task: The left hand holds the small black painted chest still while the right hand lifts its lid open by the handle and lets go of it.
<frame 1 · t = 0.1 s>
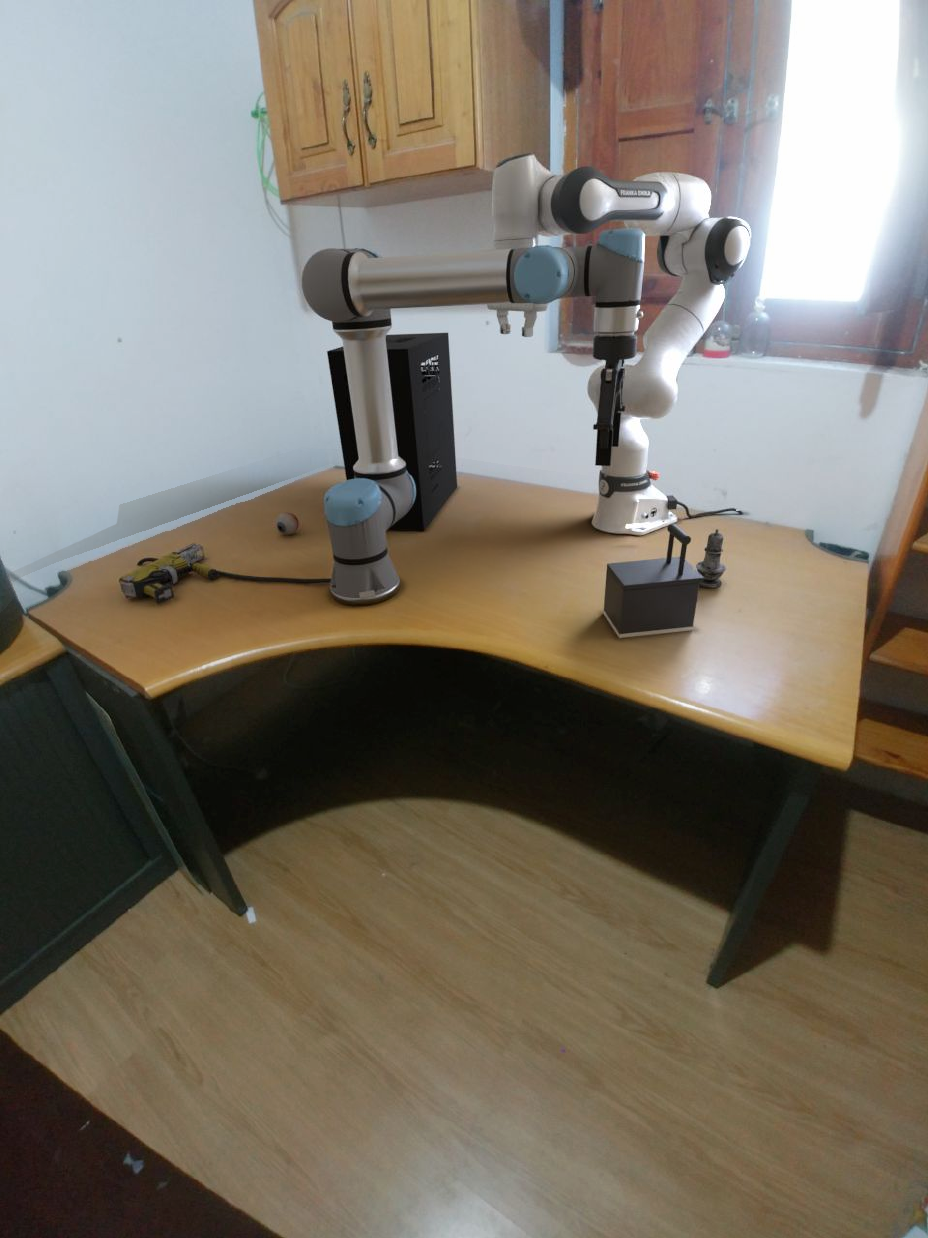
left hand: (607, 455, 116), 28 cm above the table, tool pointing down, fingers open, 13 cm apart
right hand: (516, 335, 125), 48 cm above the table, tool pointing down, fingers open, 8 cm apart
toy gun: (184, 581, 142), on the table
chest: (646, 621, 116), on the table
black computer tower: (409, 506, 180), on the table
eyeball: (289, 534, 165), on the table
lid: (656, 553, 109), point 14 cm above the table, hinge at 0.0°
salt shaker: (708, 582, 128), on the table
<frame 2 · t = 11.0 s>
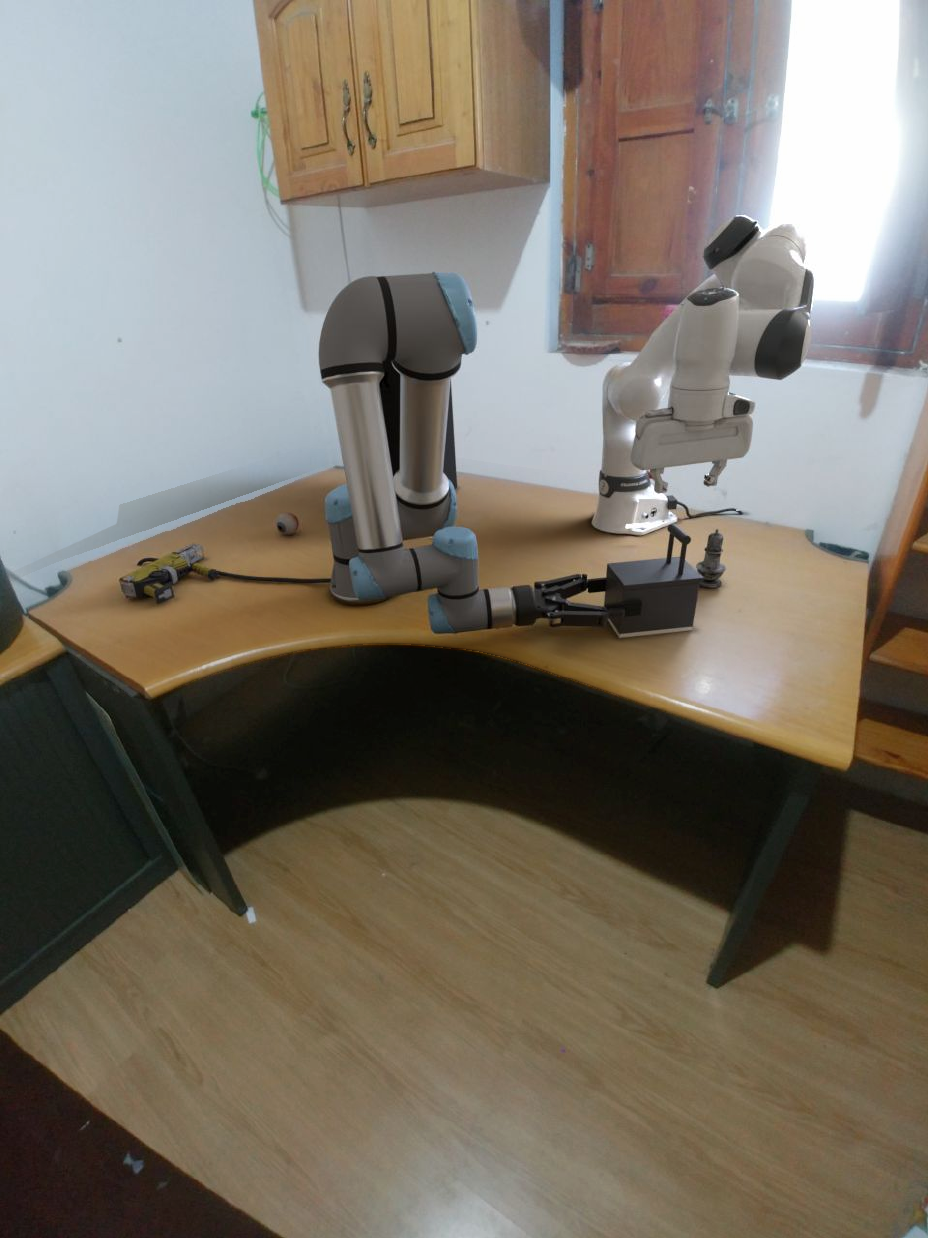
left hand: (630, 594, 112), 6 cm above the table, tool horizontal, fingers closed on chest, 9 cm apart
right hand: (685, 488, 103), 26 cm above the table, tool pointing down, fingers open, 8 cm apart
chest: (646, 621, 116), on the table, touching left hand
everything else where it was.
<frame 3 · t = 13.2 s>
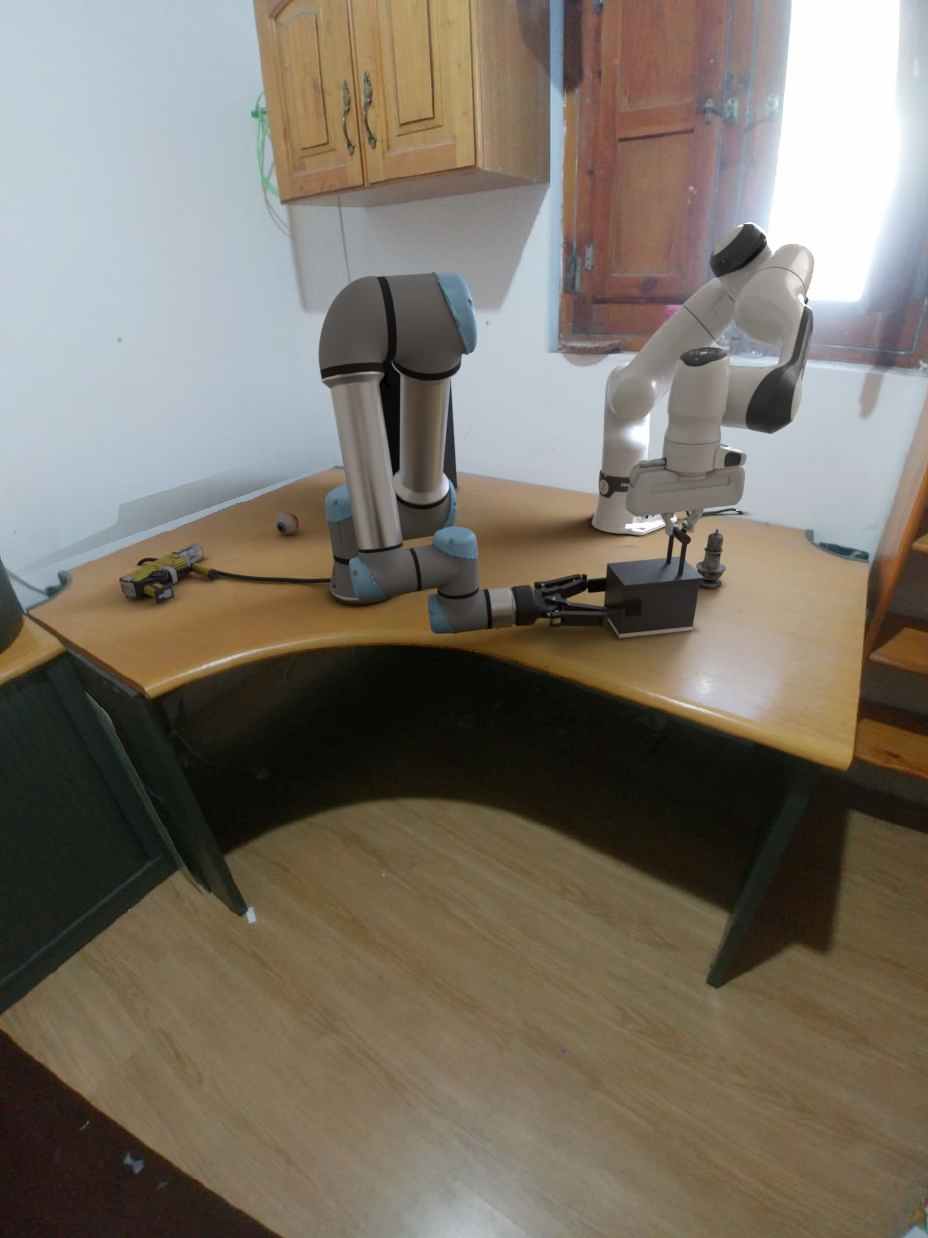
left hand: (630, 594, 112), 6 cm above the table, tool horizontal, fingers closed on chest, 9 cm apart
right hand: (679, 533, 107), 18 cm above the table, tool pointing down, fingers closed on lid, 2 cm apart
chest: (646, 621, 116), on the table, touching left hand
lid: (656, 553, 109), point 14 cm above the table, hinge at 0.0°, touching right hand
everything else where it was.
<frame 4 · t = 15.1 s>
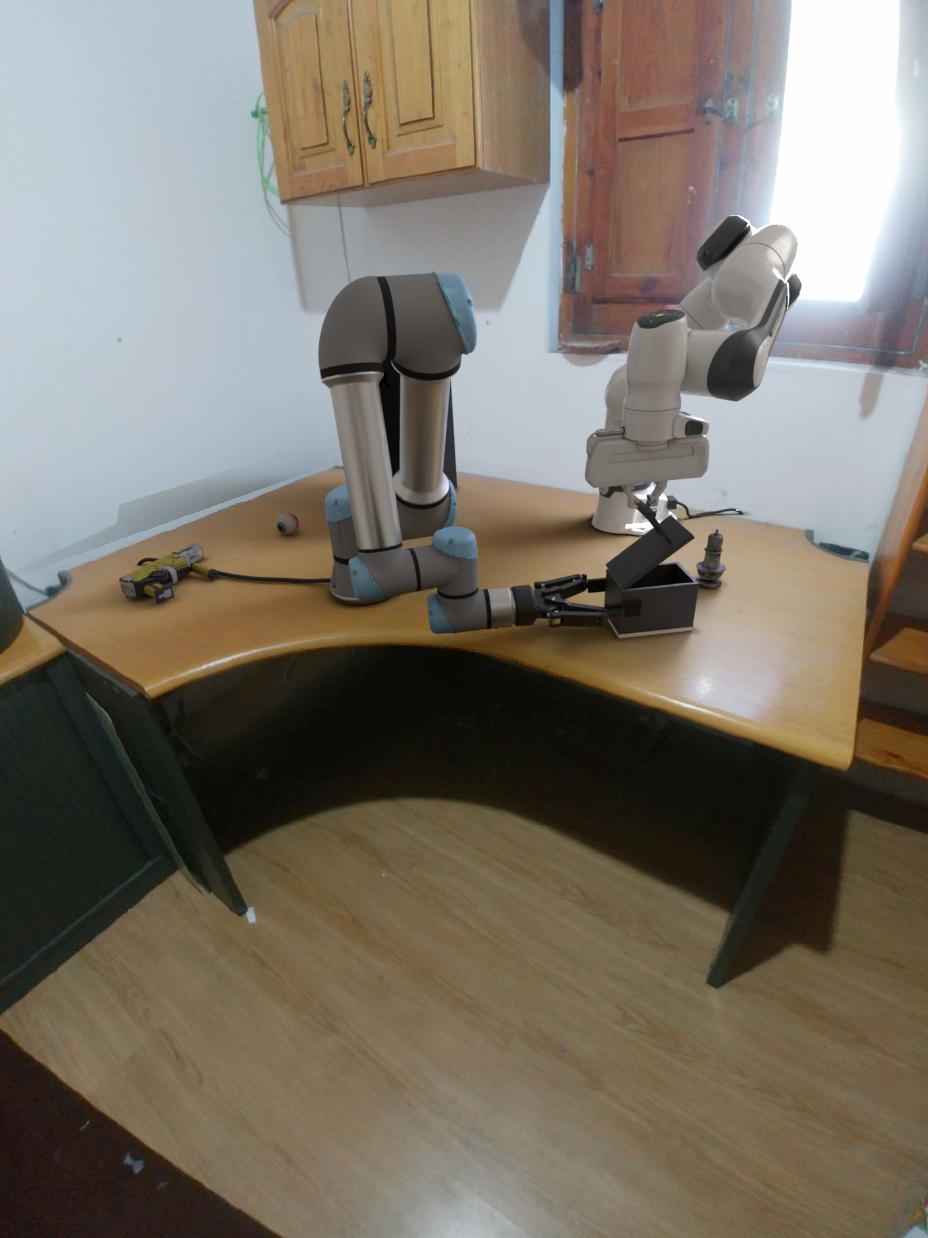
left hand: (630, 595, 112), 6 cm above the table, tool horizontal, fingers closed on chest, 9 cm apart
right hand: (642, 506, 104), 23 cm above the table, tool pointing down, fingers closed
chest: (646, 621, 116), on the table, touching left hand
lid: (636, 537, 107), point 18 cm above the table, hinge at 36.9°, touching right hand
everything else where it was.
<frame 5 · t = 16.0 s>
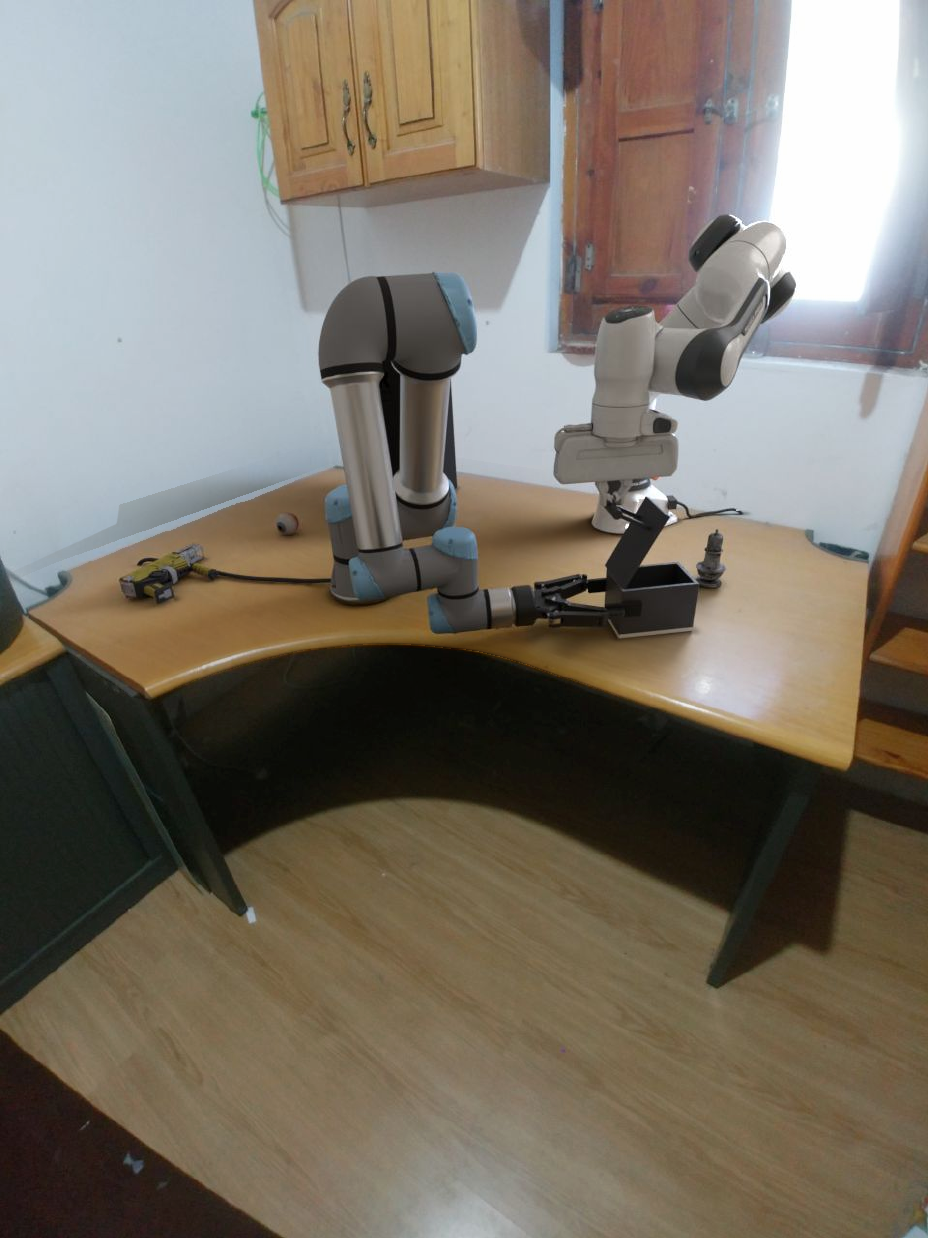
left hand: (630, 595, 112), 6 cm above the table, tool horizontal, fingers closed on chest, 9 cm apart
right hand: (611, 504, 103), 24 cm above the table, tool pointing down, fingers closed, pressing on lid
chest: (646, 621, 116), on the table, touching left hand
lid: (617, 535, 106), point 19 cm above the table, hinge at 62.4°, touching right hand
everything else where it was.
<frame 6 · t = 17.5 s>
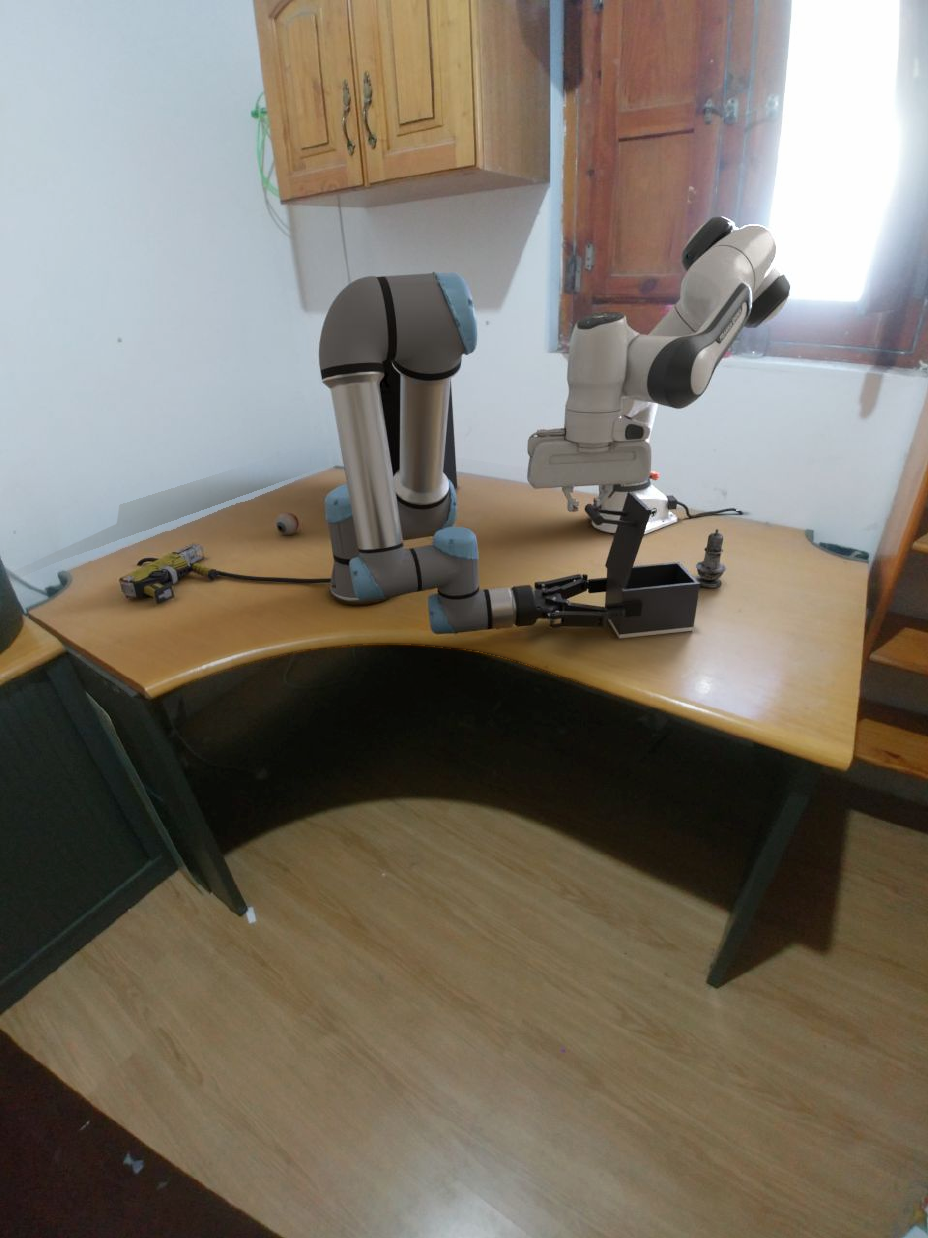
left hand: (630, 595, 112), 6 cm above the table, tool horizontal, fingers closed on chest, 9 cm apart
right hand: (585, 509, 103), 24 cm above the table, tool pointing down, fingers open, 3 cm apart
chest: (647, 621, 116), on the table, touching left hand
lid: (606, 537, 106), point 18 cm above the table, hinge at 76.6°, touching right hand
everything else where it was.
when the left hand's fingers open (6 cm above the table, at t = 21.1 s): chest stays where it is, on the table.
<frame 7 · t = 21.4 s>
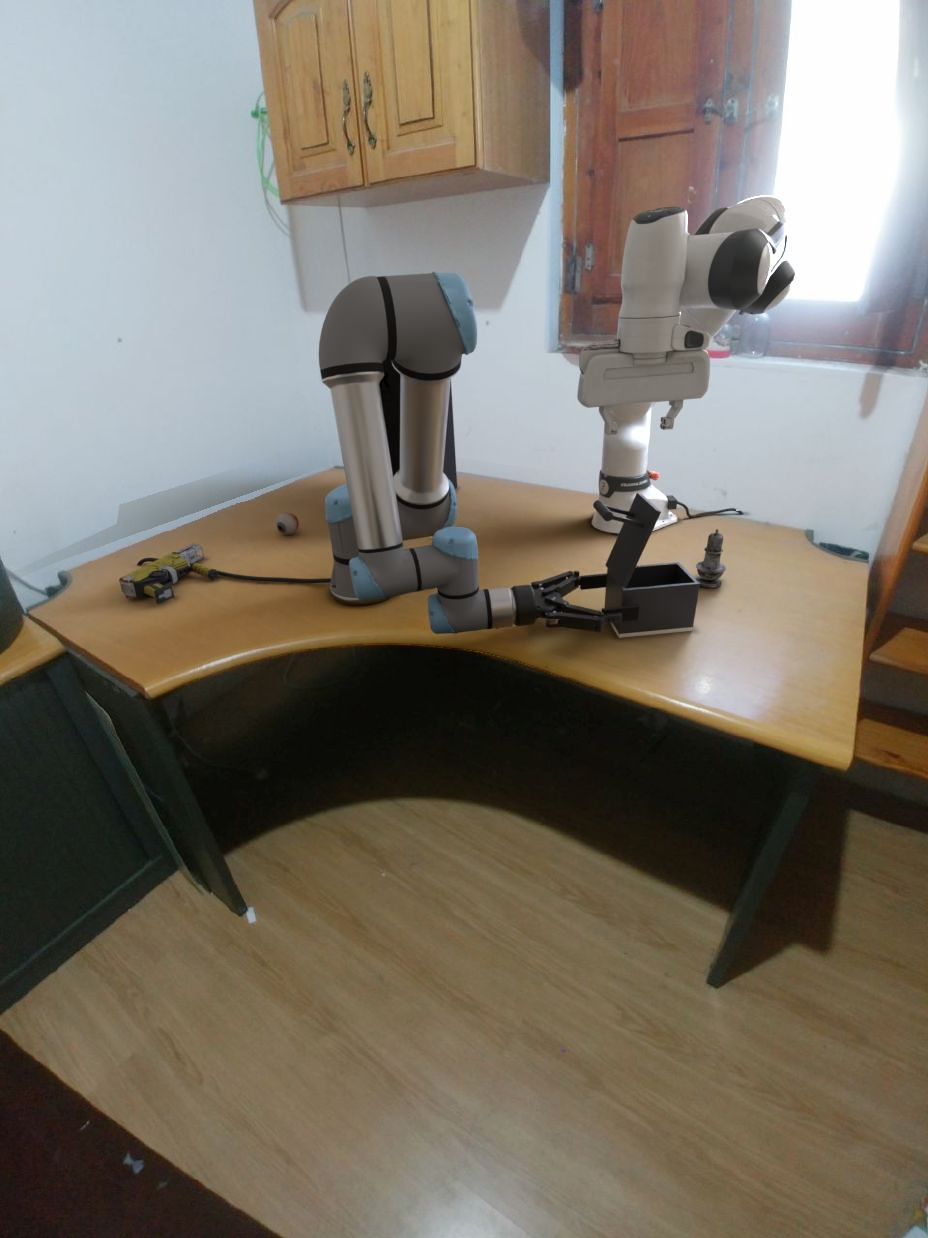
left hand: (625, 595, 112), 6 cm above the table, tool horizontal, fingers open, 13 cm apart
right hand: (638, 431, 97), 36 cm above the table, tool pointing down, fingers open, 8 cm apart
chest: (646, 621, 116), on the table
lid: (612, 535, 106), point 19 cm above the table, hinge at 70.6°
everything else where it was.
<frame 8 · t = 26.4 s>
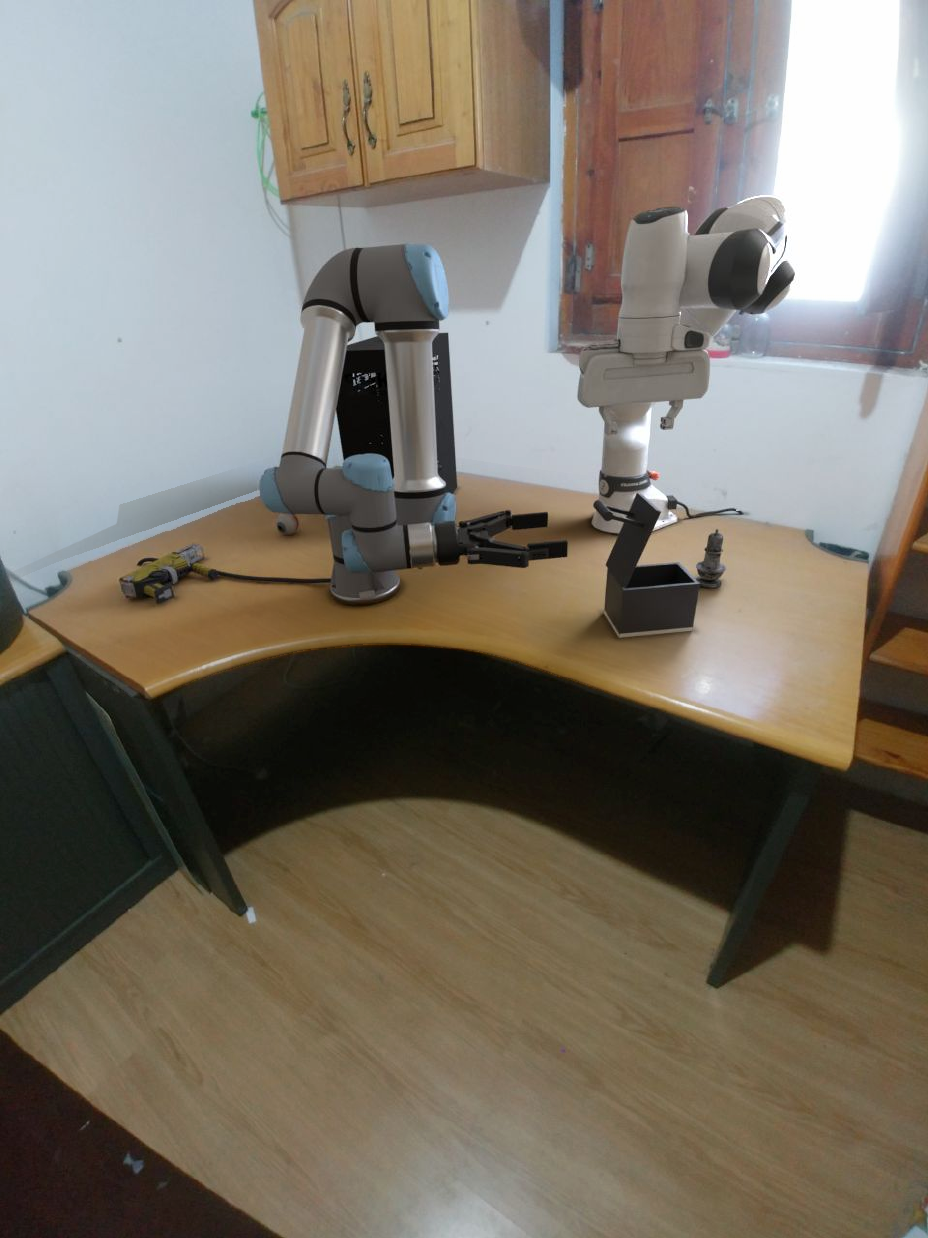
left hand: (556, 533, 105), 20 cm above the table, tool horizontal, fingers open, 13 cm apart
right hand: (638, 431, 97), 36 cm above the table, tool pointing down, fingers open, 8 cm apart
nothing on the table moved.
at the end: lid at +71° (first picture: +0°); the left hand is holding nothing; the right hand is holding nothing; chest tilted 0°; chest never tilted more than 1° during the clip; chest moved 0.1 cm from its start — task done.
